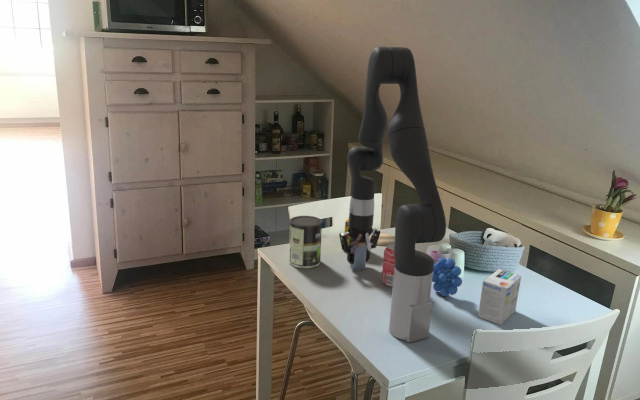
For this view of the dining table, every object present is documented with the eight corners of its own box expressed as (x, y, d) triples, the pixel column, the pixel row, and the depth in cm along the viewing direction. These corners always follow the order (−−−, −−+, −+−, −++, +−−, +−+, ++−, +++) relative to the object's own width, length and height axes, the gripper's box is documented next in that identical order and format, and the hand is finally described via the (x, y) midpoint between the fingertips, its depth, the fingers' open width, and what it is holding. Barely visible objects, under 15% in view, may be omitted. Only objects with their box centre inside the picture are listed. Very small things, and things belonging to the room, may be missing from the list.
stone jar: (368, 269, 168) (370, 243, 165) (355, 271, 166) (356, 245, 163) (360, 263, 172) (362, 238, 169) (347, 265, 170) (348, 240, 167)
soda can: (404, 279, 162) (408, 242, 158) (405, 289, 155) (409, 251, 152) (381, 277, 162) (384, 240, 159) (381, 287, 156) (384, 249, 152)
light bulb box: (492, 302, 150) (498, 267, 147) (516, 311, 146) (522, 275, 143) (476, 316, 142) (482, 280, 139) (501, 326, 138) (507, 288, 135)
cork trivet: (403, 243, 191) (403, 241, 190) (375, 247, 185) (375, 246, 185) (385, 231, 201) (385, 230, 201) (357, 235, 195) (357, 234, 195)
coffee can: (322, 257, 175) (324, 216, 171) (317, 270, 166) (319, 227, 162) (292, 254, 177) (293, 214, 173) (285, 266, 167) (286, 224, 163)
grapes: (469, 301, 150) (474, 262, 146) (452, 306, 147) (457, 266, 143) (440, 284, 159) (444, 247, 156) (423, 289, 156) (427, 251, 152)
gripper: (347, 217, 157) (344, 270, 162) (387, 212, 163) (383, 263, 168) (335, 209, 163) (332, 260, 168) (374, 205, 170) (371, 254, 175)
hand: (358, 261), depth 168 cm, fingers closed on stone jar, 4 cm apart
